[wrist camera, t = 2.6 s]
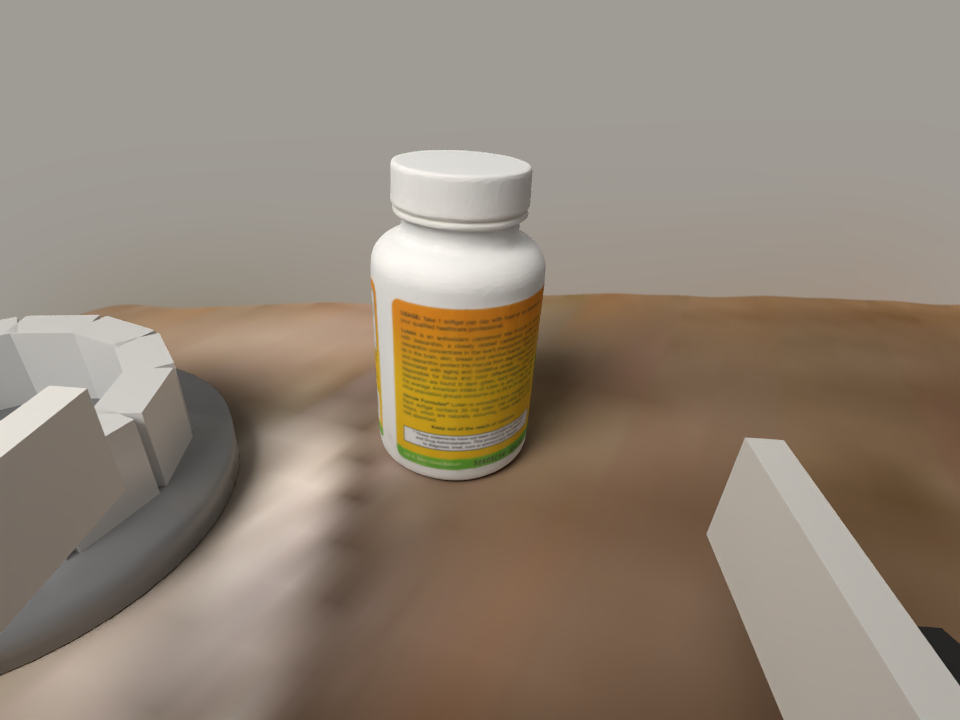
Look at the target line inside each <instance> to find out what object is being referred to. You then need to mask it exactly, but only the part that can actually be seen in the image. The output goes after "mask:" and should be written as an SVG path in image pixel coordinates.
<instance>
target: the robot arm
mask: <svg viewBox="0 0 960 720" xmlns="http://www.w3.org/2000/svg"><path fill="white" fill-rule="evenodd" d="M125 490H126V489H125V486H124V484H123V481H122V479H121V476H120V473H119V471H118V468H117V465H116V463H115V460H114V458H113V455H112V452H111V450H110V447H109V444H108V442H107V439H106V437H105V434H104V431H103V429H102V426H101V423H100V421H99V418H98V416H97V413H96V410H95V408H94V405H93V402H92V400H91V397H90V395H89V392H88V389H87V388H75V387H62V386H48V387H47V388H45V389H44V390H42V391H41V392H40V393H38V394H37V395H35V396H34V397H33V398H31V399H30V400H29V401H27V402H26V403H24V404H23V405H22V406H20V407H19V408H18V409H16V410H15V411H13V412H12V413H11V414H9V415H8V416H7V417H5V418H4V419H2V420H1V421H0V634H1V633H2V631H3V630H4V629H5V628H6V627H7V626H8V625H9V623H10V622H11V621H12V620H13V619H14V618H15V617H16V615H17V614H18V613H19V612H20V611H21V610H22V608H23V607H24V606H25V605H26V604H27V603H28V602H29V600H30V599H31V598H32V597H33V596H34V595H35V594H36V592H37V591H38V590H39V589H40V588H41V587H42V586H43V584H44V583H45V582H46V581H47V580H48V579H49V578H50V576H51V575H52V574H53V573H54V572H55V571H56V570H57V568H58V567H59V566H60V565H61V564H62V563H63V561H64V560H65V559H66V558H67V557H68V556H69V555H70V553H71V552H72V551H73V550H74V549H75V548H76V547H77V545H78V544H79V543H80V542H81V541H82V540H83V539H84V537H85V536H86V535H87V534H88V533H89V532H90V531H91V529H92V528H93V527H94V526H95V525H96V524H97V523H98V521H99V520H100V519H101V518H102V517H103V516H104V515H105V513H106V512H107V511H108V510H109V509H110V508H111V506H112V505H113V504H114V503H115V502H116V501H117V500H118V498H119V497H120V496H121V495H122V494H123V493H124V492H125ZM707 537H708V539H709V541H710V544H711V546H712V549H713V551H714V553H715V556H716V558H717V561H718V563H719V565H720V568H721V570H722V573H723V575H724V578H725V580H726V582H727V585H728V587H729V590H730V592H731V594H732V597H733V599H734V602H735V604H736V606H737V609H738V611H739V614H740V616H741V618H742V621H743V623H744V626H745V628H746V631H747V633H748V635H749V638H750V640H751V643H752V645H753V647H754V650H755V652H756V655H757V657H758V659H759V662H760V664H761V667H762V669H763V671H764V674H765V676H766V679H767V681H768V683H769V686H770V688H771V691H772V693H773V696H774V698H775V700H776V703H777V705H778V708H779V710H780V712H781V715H782V717H783V720H960V644H959V643H958V642H957V641H956V640H954V639H953V638H952V637H951V636H950V635H949V634H948V633H946V632H945V631H944V630H943V629H942V628H932V627H919V626H916V624H915V623H914V621H913V620H912V619H911V617H910V616H909V614H908V613H907V612H906V610H905V609H904V607H903V606H902V605H901V603H900V602H899V600H898V599H897V598H896V596H895V595H894V593H893V592H892V591H891V589H890V588H889V586H888V585H887V584H886V582H885V581H884V579H883V578H882V577H881V575H880V574H879V572H878V571H877V570H876V568H875V567H874V565H873V564H872V563H871V561H870V560H869V558H868V557H867V556H866V554H865V553H864V552H863V550H862V549H861V547H860V546H859V545H858V543H857V542H856V540H855V539H854V538H853V536H852V535H851V533H850V532H849V531H848V529H847V528H846V526H845V525H844V524H843V522H842V521H841V519H840V518H839V517H838V515H837V514H836V512H835V511H834V510H833V508H832V507H831V505H830V504H829V503H828V501H827V500H826V498H825V497H824V496H823V494H822V493H821V491H820V490H819V489H818V487H817V486H816V484H815V483H814V482H813V480H812V479H811V477H810V476H809V475H808V473H807V472H806V471H805V469H804V468H803V466H802V465H801V464H800V462H799V461H798V459H797V458H796V457H795V455H794V454H793V452H792V451H791V450H790V448H789V447H788V445H787V444H786V443H785V441H784V440H773V439H759V438H746V437H745V439H744V441H743V444H742V446H741V449H740V451H739V454H738V456H737V459H736V461H735V464H734V466H733V469H732V471H731V474H730V477H729V479H728V482H727V484H726V487H725V489H724V492H723V494H722V497H721V499H720V502H719V504H718V507H717V509H716V512H715V514H714V517H713V519H712V522H711V524H710V527H709V529H708V532H707Z"/></svg>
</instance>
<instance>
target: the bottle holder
mask: <svg viewBox="0 0 960 720" xmlns="http://www.w3.org/2000/svg"><path fill="white" fill-rule="evenodd" d="M48 386H62V387H75V388H87V389H88V392H89V395H90V397H91V400H92V402H93V405H94V408H95V410H96V413H97V416H98V418H99V421H100V423H101V426H102V429H103V431H104V434H105V437H106V439H107V442H108V444H109V447H110V450H111V452H112V455H113V458H114V460H115V463H116V465H117V468H118V471H119V473H120V476H121V479H122V481H123V484H124V486H125V489H126V490H125V492H124V493H123V494H122V495H121V496H120V497H119V498H118V500H117V501H116V502H115V503H114V504H113V505H112V506H111V508H110V509H109V510H108V511H107V512H106V513H105V515H104V516H103V517H102V518H101V519H100V520H99V521H98V523H97V524H96V525H95V526H94V527H93V528H92V529H91V531H90V532H89V533H88V534H87V535H86V536H85V537H84V539H83V540H82V541H81V542H80V543H79V544H78V545H77V547H76V548H75V549H74V550H73V551H72V552H71V553H70V555H69V556H68V557H67V558H66V559H65V560H64V561H63V563H62V564H61V565H60V566H59V567H58V568H57V570H56V571H55V572H54V573H53V574H52V575H51V576H50V578H49V579H48V580H47V581H46V582H45V583H44V584H43V586H42V587H41V588H40V589H39V590H38V591H37V592H36V594H35V595H34V596H33V597H32V598H31V599H30V600H29V602H28V603H27V604H26V605H25V606H24V607H23V608H22V610H21V611H20V612H19V613H18V614H17V615H16V617H15V618H14V619H13V620H12V621H11V622H10V623H9V625H8V626H7V627H6V628H5V629H4V630H3V631H2V633H1V634H0V675H1V674H4V673H6V672H8V671H11V670H13V669H15V668H18V667H20V666H22V665H25V664H27V663H29V662H32V661H34V660H36V659H38V658H40V657H42V656H44V655H45V654H47V653H49V652H51V651H53V650H55V649H57V648H59V647H61V646H63V645H65V644H67V643H69V642H71V641H73V640H75V639H76V638H78V637H80V636H81V635H83V634H85V633H86V632H88V631H90V630H91V629H93V628H95V627H96V626H98V625H99V624H101V623H103V622H104V621H106V620H108V619H109V618H111V617H112V616H114V615H115V614H117V613H118V612H120V611H121V610H122V609H124V608H125V607H127V606H128V605H129V604H131V603H132V602H134V601H135V600H136V599H138V598H139V597H141V596H142V595H144V594H145V593H146V592H147V591H148V590H150V589H151V588H152V587H153V586H154V585H156V584H157V583H158V582H159V581H160V580H162V579H163V578H164V577H165V576H166V575H168V574H169V573H170V572H171V571H172V570H173V569H174V568H175V567H176V566H177V565H178V564H179V563H180V562H181V561H182V560H183V559H184V558H185V557H186V556H187V555H188V554H189V553H190V552H191V551H192V550H193V549H194V548H195V547H196V546H197V545H198V543H199V542H200V541H201V540H202V539H203V537H204V536H205V535H206V534H207V533H208V531H209V530H210V529H211V528H212V526H213V525H214V523H215V522H216V520H217V519H218V517H219V516H220V514H221V512H222V511H223V509H224V508H225V506H226V504H227V502H228V499H229V497H230V495H231V493H232V491H233V489H234V485H235V482H236V478H237V475H238V469H239V450H238V443H237V439H236V434H235V430H234V426H233V422H232V417H231V413H230V411H229V408H228V406H227V404H226V401H225V400H224V399H223V397H222V396H221V395H220V394H219V392H218V391H217V390H216V389H214V388H213V387H212V386H211V385H210V384H209V383H207V382H205V381H204V380H202V379H200V378H198V377H197V376H195V375H192V374H190V373H187V372H185V371H182V370H179V369H176V368H175V364H174V362H173V360H172V358H171V356H170V354H169V352H168V350H167V348H166V346H165V344H164V342H163V340H162V338H161V336H160V334H159V333H157V334H156V333H155V330H152V329H149V328H146V327H142V326H139V325H136V324H132V323H129V322H126V321H122V320H119V319H116V318H112V317H109V316H106V317H103V318H100V316H99V315H65V316H64V315H60V316H58V315H55V316H26V317H25V318H24V319H22V320H21V321H18V319H17V317H13V318H7V319H2V320H0V421H1V420H2V419H4V418H5V417H7V416H8V415H9V414H11V413H12V412H13V411H15V410H16V409H18V408H19V407H20V406H22V405H23V404H24V403H26V402H27V401H29V400H30V399H31V398H33V397H34V396H35V395H37V394H38V393H40V392H41V391H42V390H44V389H45V388H47V387H48Z"/></svg>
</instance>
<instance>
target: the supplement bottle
mask: <svg viewBox="0 0 960 720" xmlns="http://www.w3.org/2000/svg"><path fill="white" fill-rule="evenodd" d="M390 165H391V166H390V167H391V192H390V200H391V202H392V203H393V211H394V213H395V214H396V215H397V216H399V217H400V218H401V225H398V226H396V227H394V228H392V229H390V230H389V231H387V232H386V233H385V234H383V235H382V236H381V238H380V239H379V240H378V241H377V243H376V244H375V246H374V248H373V251H372V256H371V289H372V304H373V322H374V338H375V359H376V378H377V397H378V414H379V425H380V433H381V438H382V442H383V444H384V446H385V448H386V450H387V452H388V453H389V454H390V455H391V457H392V458H393V459H394V460H395V461H397V462H398V463H399V464H401V465H402V466H404V467H406V468H407V469H409V470H411V471H413V472H416V473H418V474H421V475H424V476H428V477H432V478H436V479H443V480H468V479H474V478H478V477H482V476H485V475H488V474H491V473H493V472H495V471H497V470H499V469H501V468H503V467H504V466H506V465H507V464H508V463H510V462H511V461H512V460H513V459H514V458H515V457H516V456H517V454H518V453H519V452H520V450H521V448H522V446H523V444H524V441H525V437H526V430H527V424H528V414H529V406H530V397H531V389H532V379H533V372H534V364H535V357H536V347H537V338H538V330H539V322H540V314H541V306H542V299H543V290H544V278H545V259H544V256H543V253H542V251H541V249H540V247H539V246H538V244H537V243H536V242H535V241H534V240H533V239H532V238H531V237H530V236H528V235H527V234H525V233H524V232H522V231H521V230H519V224H520V223H521V222H522V221H524V220H525V219H526V218H527V216H528V209H529V206H530V197H531V183H532V168H531V165H529V164H528V163H527V162H524V161H522V160H519V159H516V158H513V157H509V156H504V155H498V154H491V153H484V152H474V151H462V150H426V151H416V152H409V153H404V154H400V155H397V156H395V157H394V158H392V160H391V163H390Z"/></svg>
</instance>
